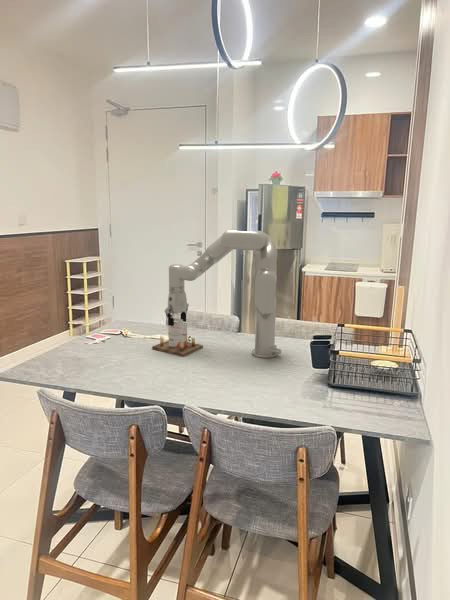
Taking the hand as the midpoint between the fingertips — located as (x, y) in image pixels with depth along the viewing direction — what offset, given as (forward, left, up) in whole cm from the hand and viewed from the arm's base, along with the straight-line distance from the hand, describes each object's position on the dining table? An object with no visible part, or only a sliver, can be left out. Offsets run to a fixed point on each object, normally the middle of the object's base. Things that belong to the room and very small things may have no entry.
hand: (177, 323), depth 213 cm
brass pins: (0, 0, -12) cm, 12 cm away
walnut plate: (0, 0, -13) cm, 13 cm away
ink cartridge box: (0, 0, -12) cm, 12 cm away
